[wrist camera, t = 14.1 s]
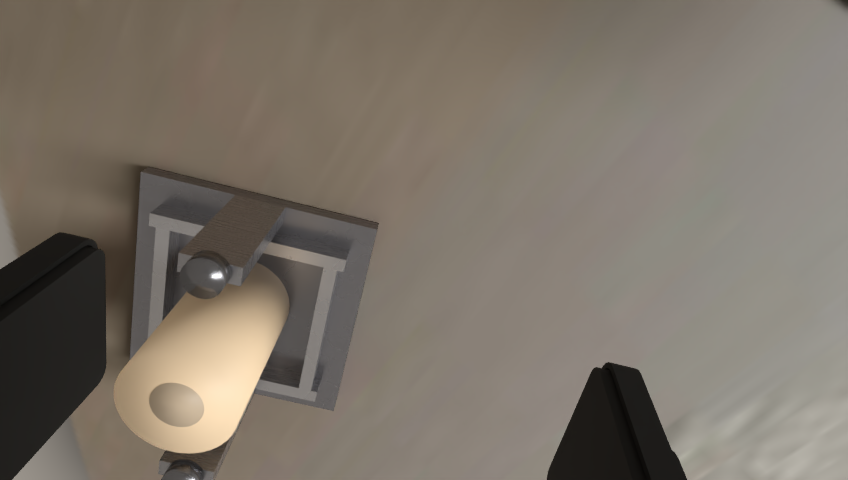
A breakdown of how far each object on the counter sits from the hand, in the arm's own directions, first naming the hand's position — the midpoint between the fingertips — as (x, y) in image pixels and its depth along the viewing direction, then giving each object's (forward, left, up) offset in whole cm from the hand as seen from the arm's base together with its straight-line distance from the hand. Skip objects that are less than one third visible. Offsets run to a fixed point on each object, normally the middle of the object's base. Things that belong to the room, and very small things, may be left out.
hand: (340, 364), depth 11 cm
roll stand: (+7, +14, -24) cm, 29 cm away
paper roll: (+7, +14, -23) cm, 28 cm away
